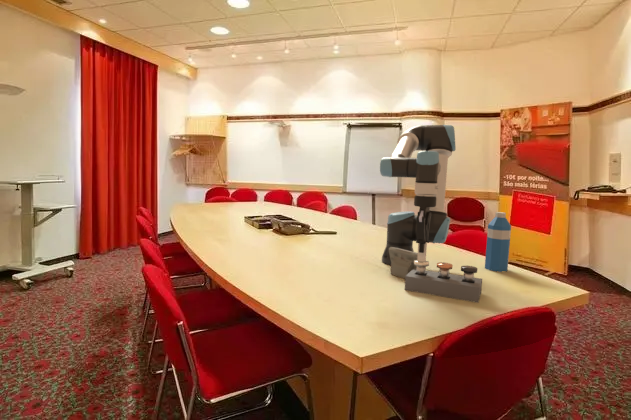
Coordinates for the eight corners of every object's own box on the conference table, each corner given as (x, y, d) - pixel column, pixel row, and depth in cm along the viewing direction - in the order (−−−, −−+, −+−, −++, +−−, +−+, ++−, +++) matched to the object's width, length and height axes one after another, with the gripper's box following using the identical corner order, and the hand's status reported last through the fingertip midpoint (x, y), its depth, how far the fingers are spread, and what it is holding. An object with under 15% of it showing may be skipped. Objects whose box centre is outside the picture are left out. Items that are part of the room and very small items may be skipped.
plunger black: (459, 283, 129) (460, 268, 128) (461, 279, 134) (462, 264, 133) (475, 285, 127) (476, 270, 126) (477, 281, 131) (478, 267, 131)
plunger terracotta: (434, 279, 133) (435, 264, 132) (437, 275, 137) (438, 261, 137) (450, 281, 130) (451, 266, 130) (452, 278, 135) (453, 263, 134)
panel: (404, 289, 135) (405, 276, 134) (412, 281, 145) (413, 268, 145) (478, 302, 124) (479, 287, 123) (481, 292, 134) (482, 278, 134)
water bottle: (510, 272, 163) (515, 214, 160) (487, 270, 164) (491, 213, 162) (504, 267, 172) (509, 212, 169) (482, 265, 173) (486, 211, 171)
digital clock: (427, 280, 148) (428, 253, 147) (408, 282, 144) (410, 254, 143) (401, 269, 163) (402, 245, 161) (383, 271, 159) (384, 246, 158)
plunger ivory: (411, 276, 136) (412, 262, 136) (415, 272, 141) (415, 259, 140) (426, 278, 134) (427, 264, 133) (429, 275, 139) (430, 261, 138)
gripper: (432, 196, 127) (428, 266, 129) (439, 195, 138) (435, 259, 141) (410, 195, 130) (406, 263, 133) (418, 194, 142) (415, 256, 144)
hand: (421, 260), depth 137 cm, fingers closed
